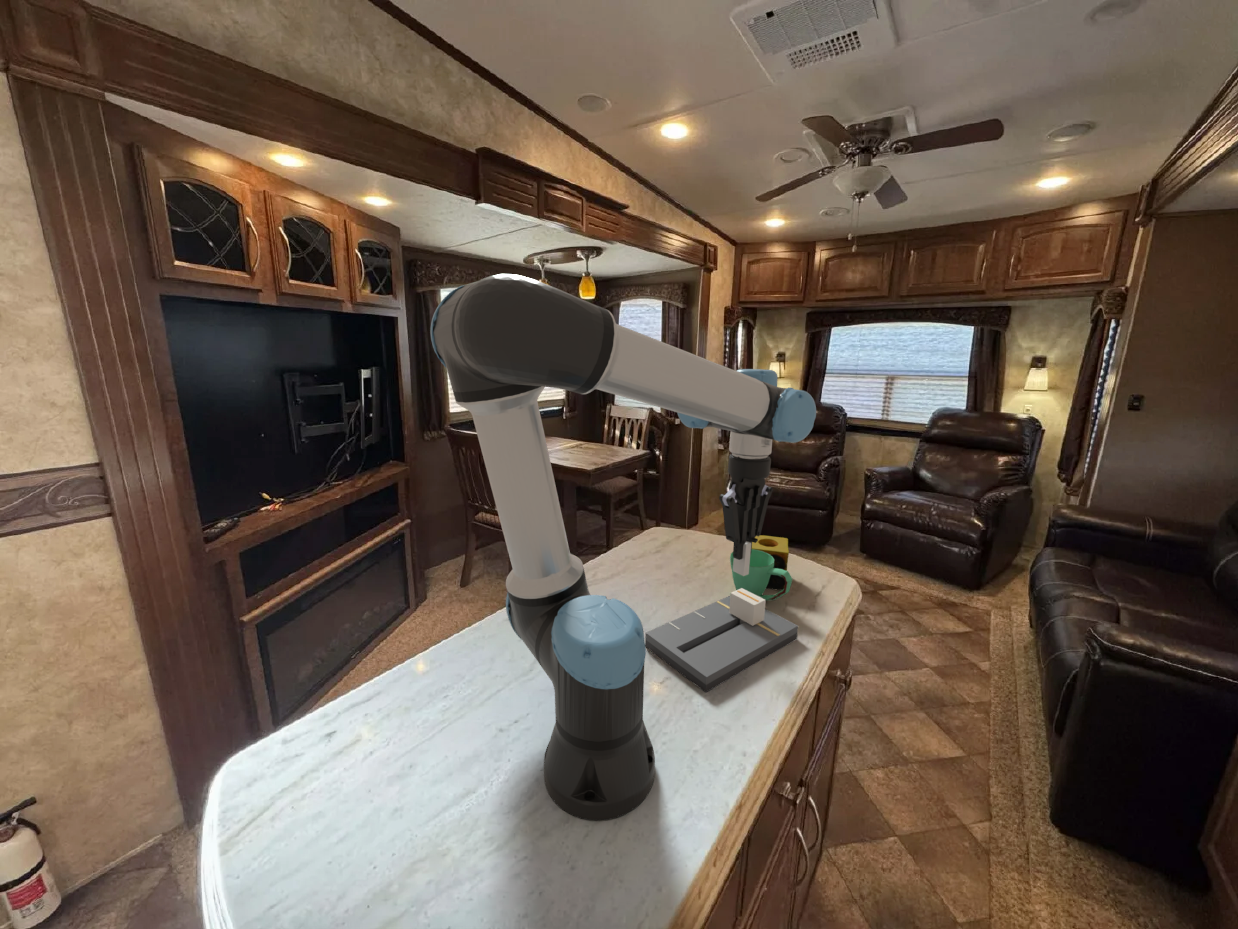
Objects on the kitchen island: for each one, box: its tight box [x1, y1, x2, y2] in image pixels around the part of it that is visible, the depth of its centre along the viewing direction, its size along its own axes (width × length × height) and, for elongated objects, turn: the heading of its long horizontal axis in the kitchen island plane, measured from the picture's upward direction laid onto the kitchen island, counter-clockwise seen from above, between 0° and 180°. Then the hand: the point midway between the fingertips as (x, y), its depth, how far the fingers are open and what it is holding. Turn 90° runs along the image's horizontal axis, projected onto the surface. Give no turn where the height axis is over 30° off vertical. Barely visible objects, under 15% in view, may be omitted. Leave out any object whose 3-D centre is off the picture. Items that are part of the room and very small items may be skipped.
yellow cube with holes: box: [752, 534, 790, 591], centre depth 120 cm, size 10×10×10 cm
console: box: [644, 595, 799, 693], centre depth 95 cm, size 26×16×3 cm, turn 127°
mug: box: [729, 549, 793, 602], centre depth 110 cm, size 15×10×10 cm
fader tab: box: [729, 588, 767, 626], centre depth 98 cm, size 4×6×6 cm, turn 36°
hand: (740, 572), depth 94 cm, fingers closed
